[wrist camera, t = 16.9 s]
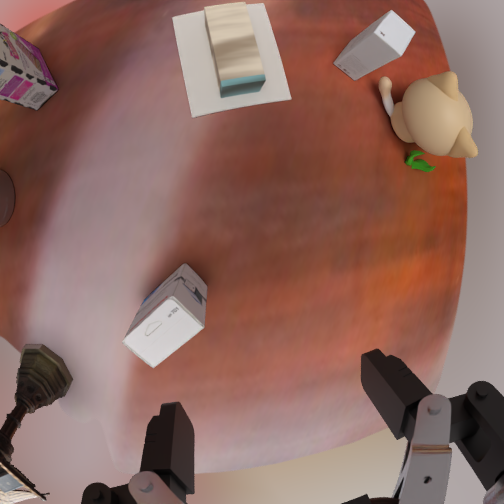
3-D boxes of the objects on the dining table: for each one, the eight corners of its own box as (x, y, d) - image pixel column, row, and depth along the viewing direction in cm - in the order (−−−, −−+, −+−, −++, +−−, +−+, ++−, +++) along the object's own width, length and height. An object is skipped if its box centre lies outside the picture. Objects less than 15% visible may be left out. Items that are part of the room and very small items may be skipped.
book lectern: (71, 331, 38) (-31, 503, 5) (102, 391, 42) (51, 556, 8) (10, 337, 37) (-83, 458, 3) (40, 390, 41) (-22, 516, 7)
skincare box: (354, 82, 34) (401, 57, 22) (331, 63, 33) (372, 31, 21) (371, 58, 33) (417, 31, 21) (350, 40, 32) (390, 8, 20)
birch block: (266, 80, 28) (245, 1, 24) (221, 87, 27) (204, 7, 24) (259, 91, 33) (241, 19, 29) (220, 98, 32) (204, 24, 29)
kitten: (435, 164, 39) (503, 169, 24) (393, 178, 38) (464, 187, 24) (410, 78, 34) (474, 58, 20) (363, 84, 34) (427, 54, 20)
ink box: (166, 321, 40) (153, 371, 28) (141, 298, 38) (119, 342, 27) (209, 285, 39) (208, 329, 28) (183, 259, 38) (172, 295, 26)
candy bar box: (61, 88, 28) (-6, 57, 13) (37, 111, 29) (-34, 94, 13) (40, 46, 25) (-17, 11, 9) (18, 67, 25) (-42, 42, 10)
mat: (290, 99, 34) (291, 99, 33) (192, 118, 33) (192, 117, 32) (263, 4, 29) (263, 3, 28) (172, 18, 28) (172, 17, 28)
